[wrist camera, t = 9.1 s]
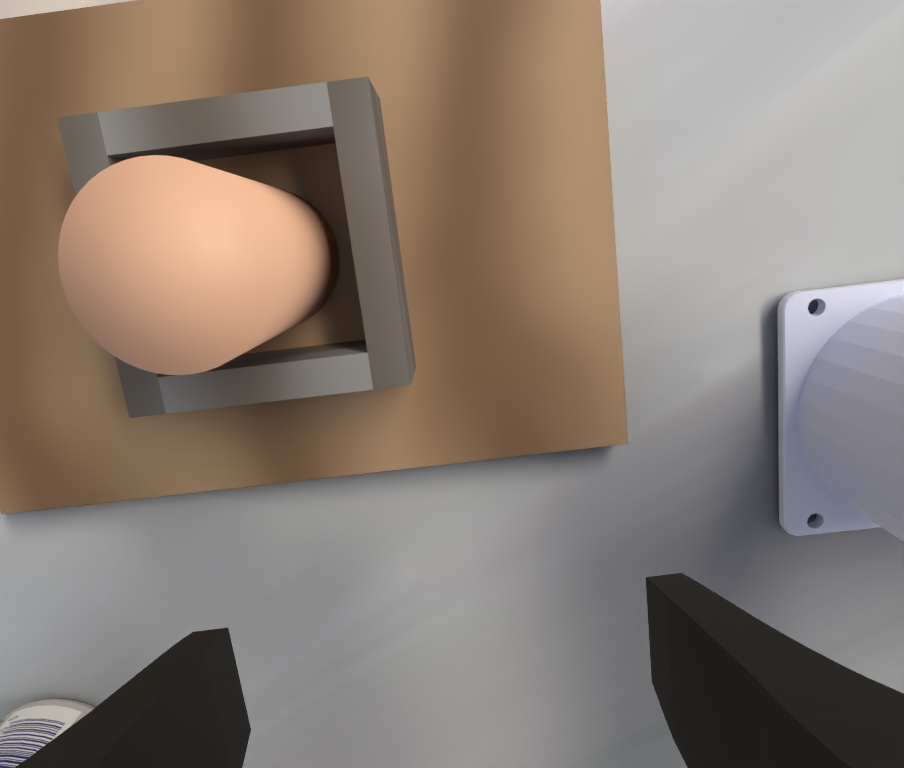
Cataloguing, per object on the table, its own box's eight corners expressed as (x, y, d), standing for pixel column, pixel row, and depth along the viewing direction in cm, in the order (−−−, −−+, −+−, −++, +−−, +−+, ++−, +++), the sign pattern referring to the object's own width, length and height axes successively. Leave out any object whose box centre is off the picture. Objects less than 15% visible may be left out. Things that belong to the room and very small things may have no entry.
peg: (325, 177, 18) (249, 138, 11) (351, 316, 19) (295, 358, 12) (187, 199, 18) (30, 173, 11) (219, 337, 19) (91, 389, 12)
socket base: (588, -46, 18) (620, -114, 14) (619, 434, 21) (652, 472, 17) (-109, 48, 18) (-238, 6, 15) (22, 501, 22) (-60, 551, 18)
